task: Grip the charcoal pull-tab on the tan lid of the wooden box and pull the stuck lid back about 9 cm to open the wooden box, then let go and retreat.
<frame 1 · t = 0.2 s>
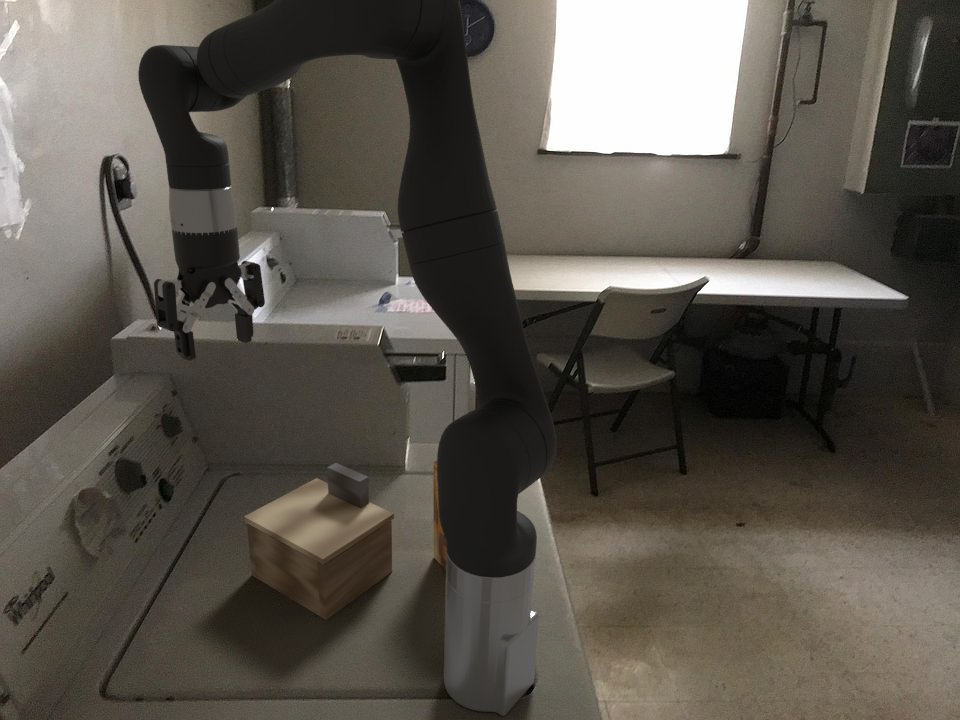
hand: (217, 349, 97), 29 cm above the table, fingers open, 8 cm apart
lid: (318, 504, 96), point 11 cm above the table, slide at 0.0 cm
candy box: (460, 571, 102), on the table
wooden box: (322, 573, 100), on the table
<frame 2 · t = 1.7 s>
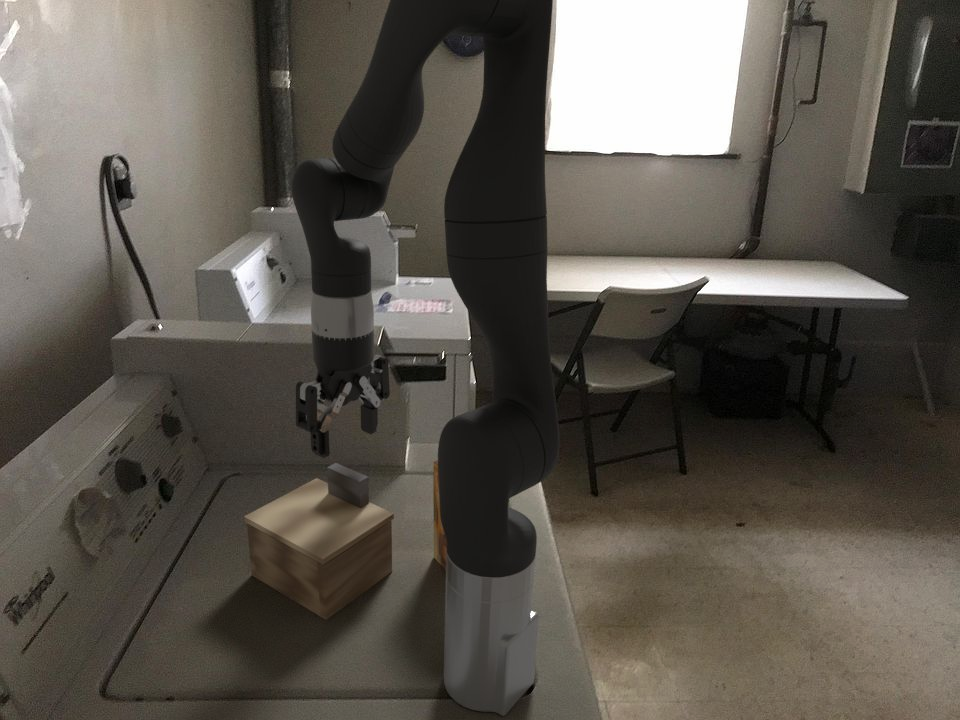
hand: (346, 443, 98), 17 cm above the table, fingers open, 8 cm apart
nothing on the table moved.
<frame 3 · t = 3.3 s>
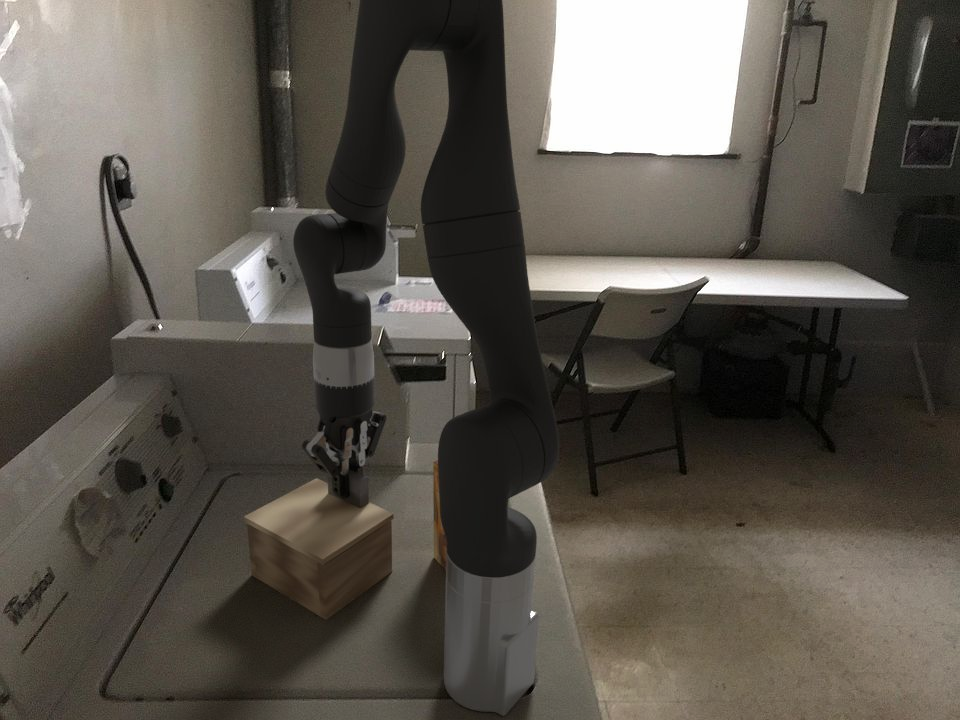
hand: (348, 492, 100), 10 cm above the table, fingers closed on lid
lid: (318, 504, 96), point 11 cm above the table, slide at 0.0 cm, touching gripper
everything else where it was.
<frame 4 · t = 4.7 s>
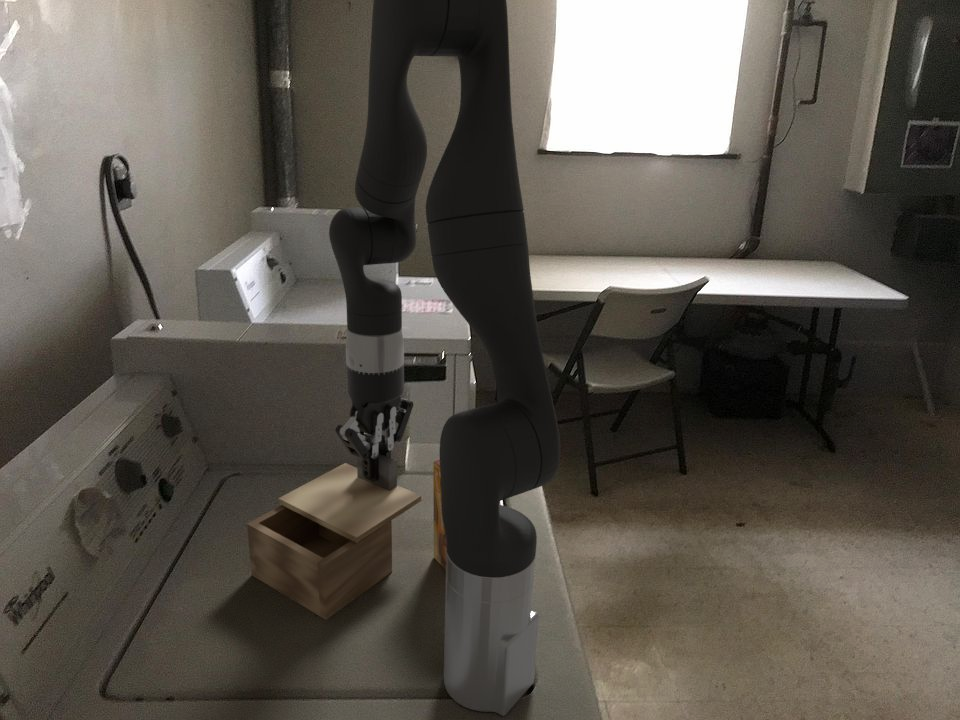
hand: (377, 475, 105), 10 cm above the table, fingers closed on lid
lid: (350, 486, 101), point 11 cm above the table, slide at 5.6 cm, touching gripper
everything else where it was.
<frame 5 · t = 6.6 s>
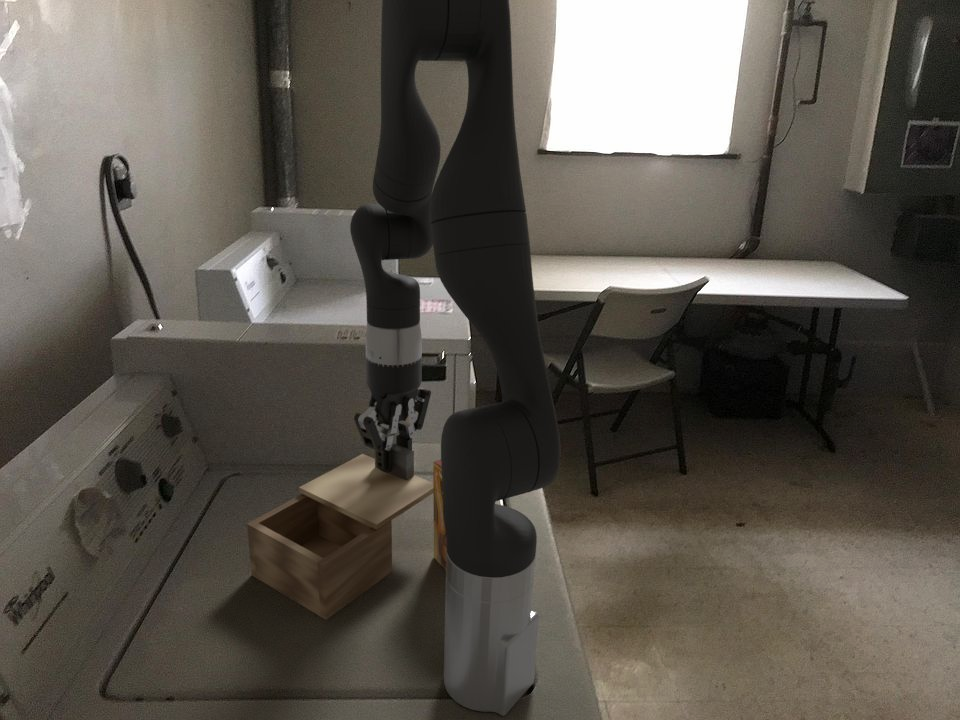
hand: (394, 464, 108), 10 cm above the table, fingers open, 3 cm apart
lid: (368, 476, 103), point 11 cm above the table, slide at 9.2 cm
everything else where it was.
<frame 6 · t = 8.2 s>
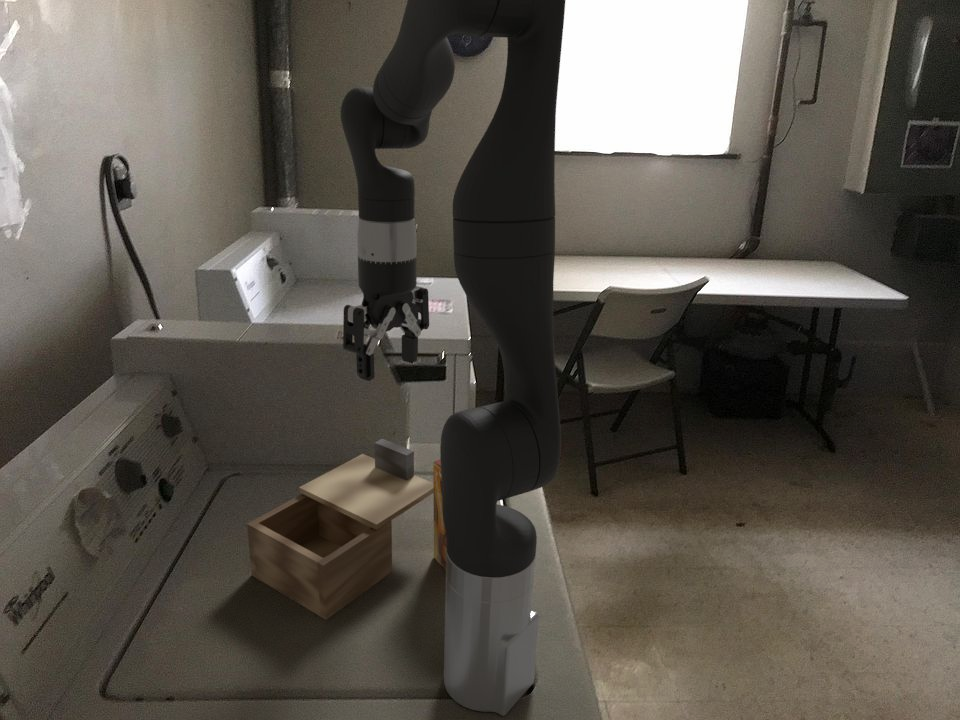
hand: (388, 369, 102), 25 cm above the table, fingers open, 8 cm apart
nothing on the table moved.
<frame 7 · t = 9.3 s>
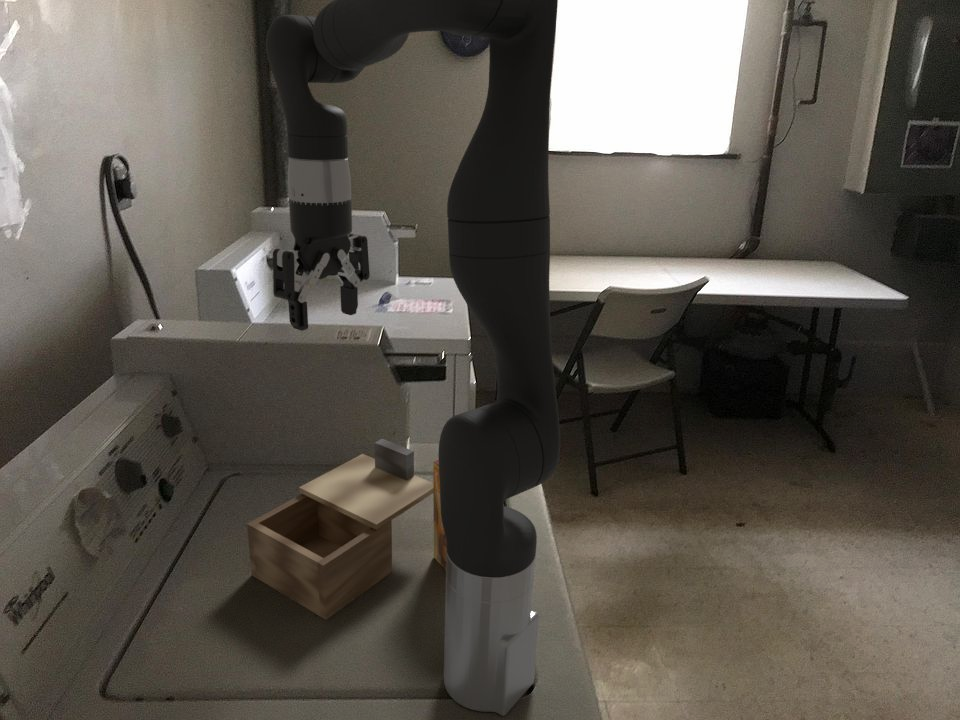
hand: (325, 321, 98), 32 cm above the table, fingers open, 8 cm apart
nothing on the table moved.
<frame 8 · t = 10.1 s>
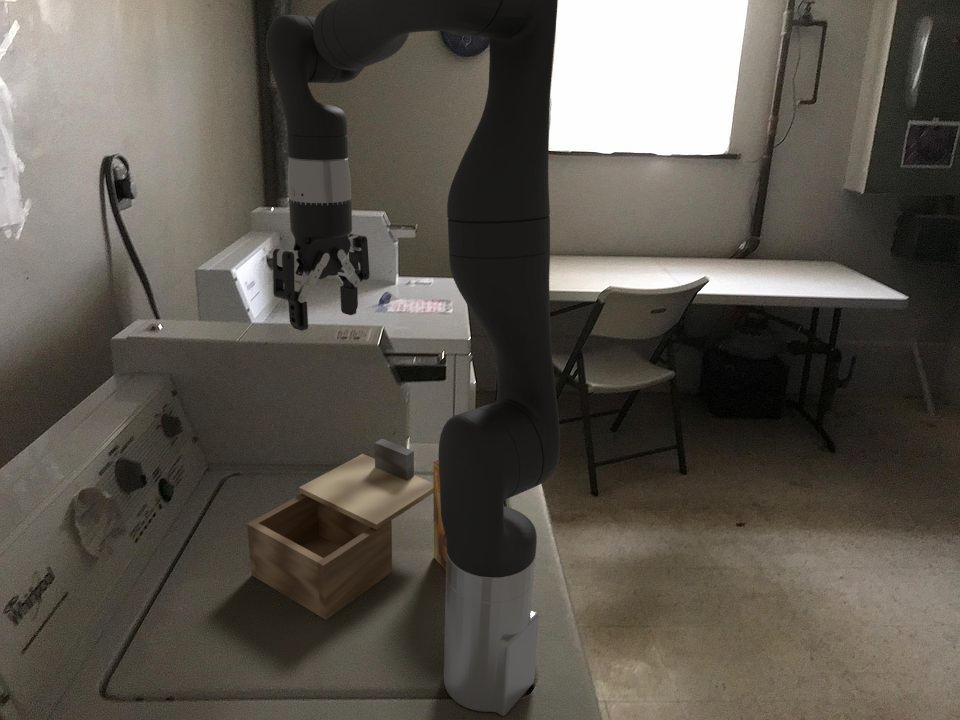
hand: (325, 321, 98), 32 cm above the table, fingers open, 8 cm apart
nothing on the table moved.
at the end: lid slide at 9.2 cm; the gripper is holding nothing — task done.
